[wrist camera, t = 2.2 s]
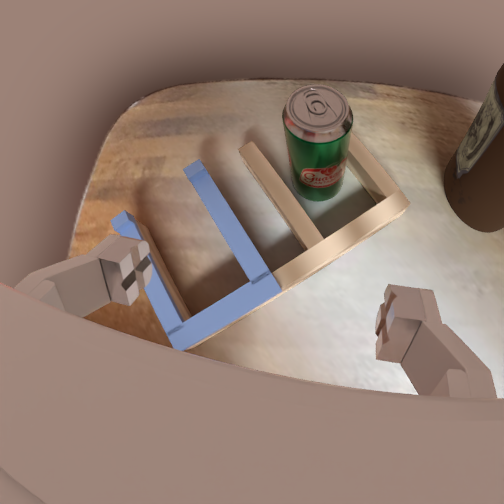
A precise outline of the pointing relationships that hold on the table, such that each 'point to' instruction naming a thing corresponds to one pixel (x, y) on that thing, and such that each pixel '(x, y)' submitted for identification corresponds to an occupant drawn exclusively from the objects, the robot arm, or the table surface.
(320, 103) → the soda can
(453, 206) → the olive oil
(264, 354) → the table surface
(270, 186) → the duct rack
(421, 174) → the table surface
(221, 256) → the table surface
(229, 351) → the table surface
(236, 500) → the robot arm
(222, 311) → the blue bezel
